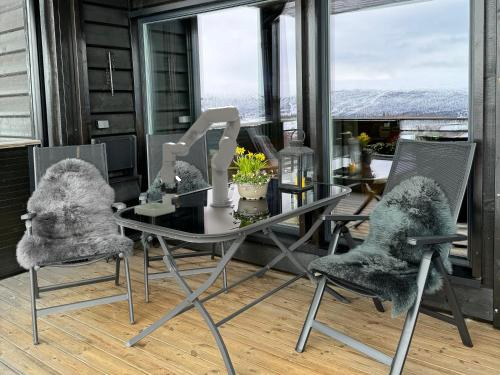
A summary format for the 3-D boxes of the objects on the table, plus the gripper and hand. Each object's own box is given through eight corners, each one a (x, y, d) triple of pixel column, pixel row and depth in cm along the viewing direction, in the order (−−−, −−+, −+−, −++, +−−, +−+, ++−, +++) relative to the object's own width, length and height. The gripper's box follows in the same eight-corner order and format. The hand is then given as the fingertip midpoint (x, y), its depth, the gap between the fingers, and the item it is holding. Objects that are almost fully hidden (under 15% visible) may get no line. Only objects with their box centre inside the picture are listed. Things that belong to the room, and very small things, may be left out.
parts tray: (175, 211, 296) (174, 205, 296) (154, 216, 284) (154, 210, 283) (155, 208, 306) (155, 202, 305) (134, 213, 293) (134, 207, 292)
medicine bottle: (171, 209, 303) (171, 189, 301) (162, 208, 307) (161, 188, 305) (179, 207, 309) (178, 187, 307) (170, 206, 313) (169, 186, 311)
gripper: (184, 164, 301) (184, 193, 304) (163, 162, 311) (163, 190, 314) (175, 165, 295) (175, 195, 298) (154, 163, 305) (154, 191, 308)
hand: (169, 192), depth 306 cm, fingers open, 9 cm apart
